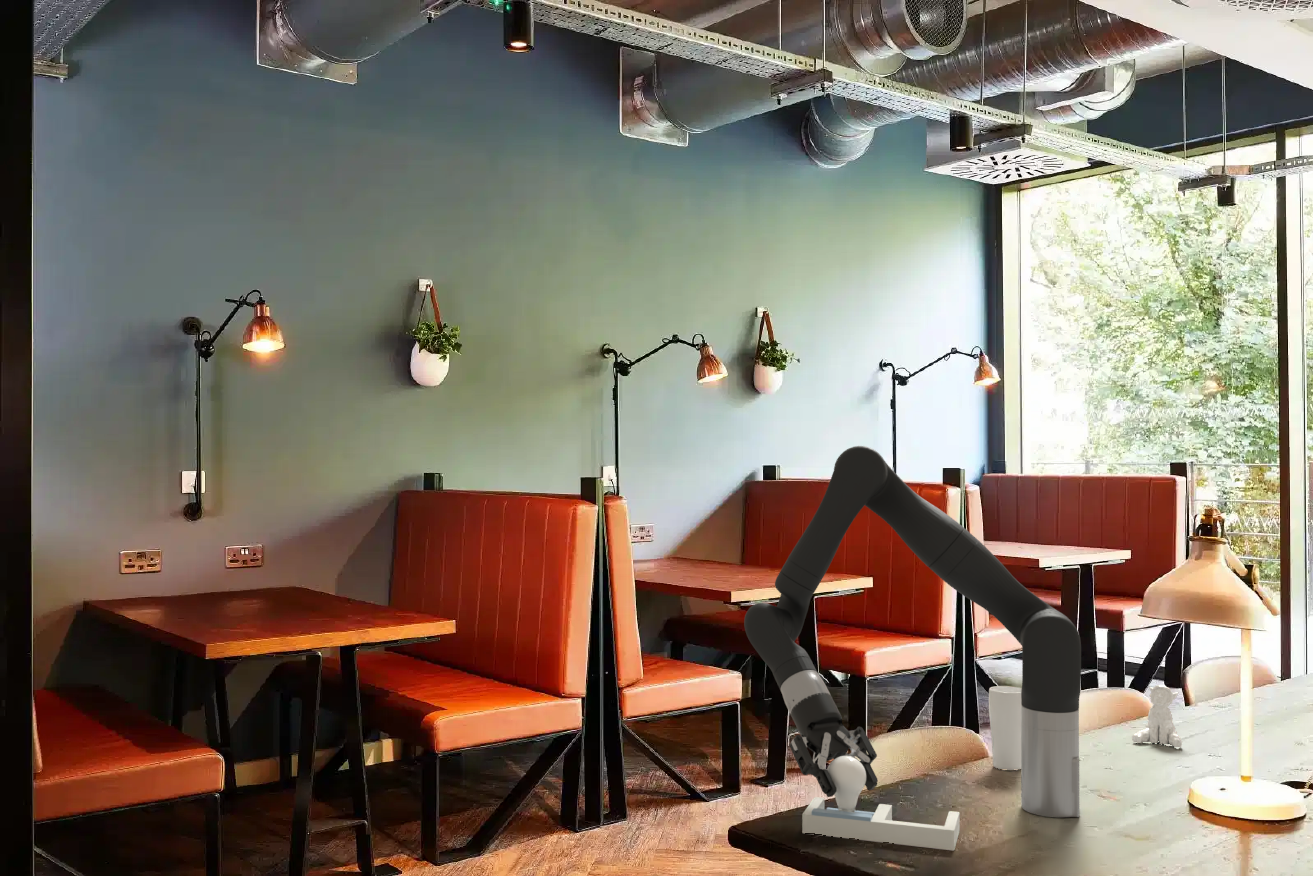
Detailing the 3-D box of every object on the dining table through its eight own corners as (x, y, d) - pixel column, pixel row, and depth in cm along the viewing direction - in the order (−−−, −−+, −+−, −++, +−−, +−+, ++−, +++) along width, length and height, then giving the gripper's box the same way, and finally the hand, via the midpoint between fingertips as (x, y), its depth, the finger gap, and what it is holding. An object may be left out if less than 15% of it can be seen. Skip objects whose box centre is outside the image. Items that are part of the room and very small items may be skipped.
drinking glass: (1027, 774, 215) (1027, 693, 215) (990, 771, 216) (990, 692, 217) (1023, 764, 222) (1023, 686, 222) (987, 762, 223) (987, 685, 223)
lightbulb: (842, 833, 180) (842, 762, 180) (818, 823, 185) (818, 754, 186) (875, 828, 183) (874, 758, 183) (850, 818, 188) (850, 750, 189)
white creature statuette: (1131, 744, 238) (1131, 686, 239) (1138, 735, 246) (1138, 679, 246) (1181, 750, 233) (1180, 691, 234) (1186, 741, 241) (1186, 684, 241)
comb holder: (960, 829, 183) (960, 806, 183) (954, 850, 173) (954, 826, 173) (816, 813, 190) (816, 791, 190) (802, 833, 180) (802, 810, 180)
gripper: (784, 695, 187) (827, 784, 177) (854, 687, 194) (899, 772, 184) (766, 721, 192) (806, 809, 181) (834, 712, 199) (877, 797, 188)
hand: (853, 790), depth 183 cm, fingers open, 7 cm apart
